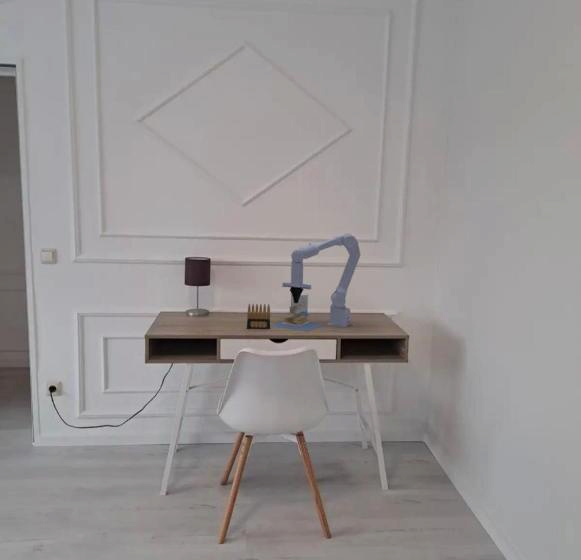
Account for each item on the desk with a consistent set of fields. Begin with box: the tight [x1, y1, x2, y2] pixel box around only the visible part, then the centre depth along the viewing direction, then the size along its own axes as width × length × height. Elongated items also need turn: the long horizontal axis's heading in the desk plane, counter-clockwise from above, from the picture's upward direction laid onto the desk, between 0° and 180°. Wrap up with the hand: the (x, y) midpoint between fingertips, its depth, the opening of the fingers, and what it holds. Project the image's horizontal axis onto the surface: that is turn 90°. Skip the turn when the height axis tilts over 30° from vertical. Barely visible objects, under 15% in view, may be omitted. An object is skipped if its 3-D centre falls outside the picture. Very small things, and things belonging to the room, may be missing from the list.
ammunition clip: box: [246, 303, 271, 330], centre depth 236 cm, size 11×2×12 cm, turn 91°
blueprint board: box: [270, 319, 325, 332], centre depth 246 cm, size 20×18×1 cm
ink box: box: [290, 292, 309, 317], centre depth 269 cm, size 8×5×15 cm, turn 39°
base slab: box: [283, 314, 308, 325], centre depth 251 cm, size 8×8×3 cm
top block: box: [289, 305, 302, 318], centre depth 250 cm, size 4×4×5 cm
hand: (296, 302), depth 250 cm, fingers closed
